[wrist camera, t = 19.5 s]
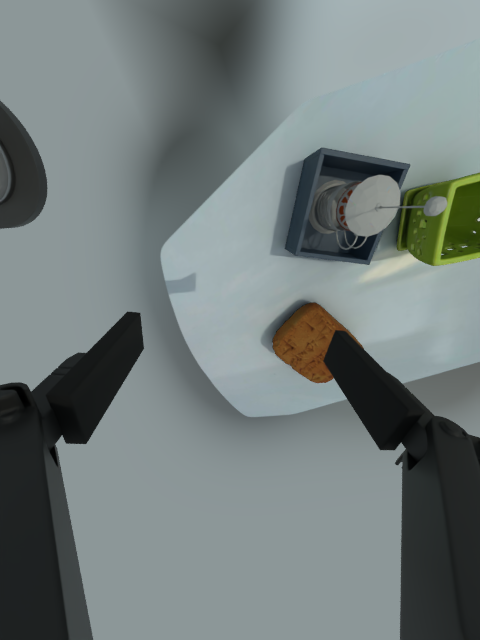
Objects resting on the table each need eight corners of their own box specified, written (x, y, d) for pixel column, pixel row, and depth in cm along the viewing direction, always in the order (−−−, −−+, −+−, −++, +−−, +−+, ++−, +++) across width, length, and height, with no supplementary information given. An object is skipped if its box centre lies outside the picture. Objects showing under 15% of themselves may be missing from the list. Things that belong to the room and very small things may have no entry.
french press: (359, 177, 41) (516, 138, 19) (349, 240, 46) (463, 267, 24) (309, 182, 41) (408, 149, 18) (306, 244, 46) (379, 276, 24)
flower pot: (463, 170, 42) (550, 156, 31) (446, 241, 48) (512, 251, 37) (393, 187, 43) (453, 179, 31) (385, 255, 49) (432, 269, 38)
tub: (304, 158, 40) (321, 147, 32) (379, 172, 41) (410, 164, 34) (284, 248, 47) (295, 255, 40) (348, 257, 49) (369, 264, 42)
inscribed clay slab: (356, 339, 60) (373, 356, 53) (310, 373, 65) (320, 393, 58) (309, 291, 52) (323, 303, 45) (261, 334, 58) (266, 352, 51)
